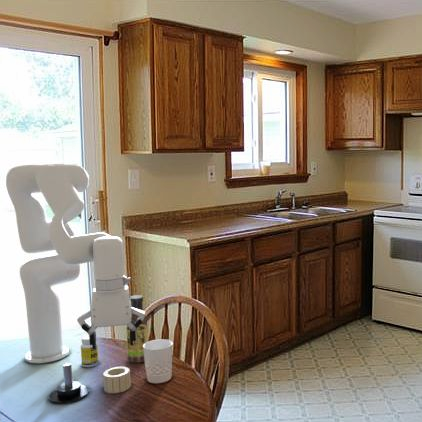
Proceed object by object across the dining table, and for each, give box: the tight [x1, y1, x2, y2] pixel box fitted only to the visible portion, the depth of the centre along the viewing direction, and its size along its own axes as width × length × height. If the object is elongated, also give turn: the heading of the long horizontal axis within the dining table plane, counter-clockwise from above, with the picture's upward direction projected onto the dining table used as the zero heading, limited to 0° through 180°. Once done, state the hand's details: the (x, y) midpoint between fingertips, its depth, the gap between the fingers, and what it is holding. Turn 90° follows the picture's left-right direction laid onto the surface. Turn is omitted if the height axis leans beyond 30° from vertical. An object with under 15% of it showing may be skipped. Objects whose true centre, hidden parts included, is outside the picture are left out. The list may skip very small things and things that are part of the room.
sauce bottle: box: [125, 294, 149, 364], centre depth 162 cm, size 6×6×20 cm
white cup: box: [143, 338, 173, 384], centre depth 149 cm, size 8×8×10 cm
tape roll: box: [102, 366, 132, 394], centre depth 144 cm, size 7×7×4 cm
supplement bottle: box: [80, 334, 99, 368], centre depth 160 cm, size 5×5×8 cm
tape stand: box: [48, 362, 90, 405], centre depth 140 cm, size 10×10×8 cm
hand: (113, 345), depth 143 cm, fingers open, 9 cm apart
